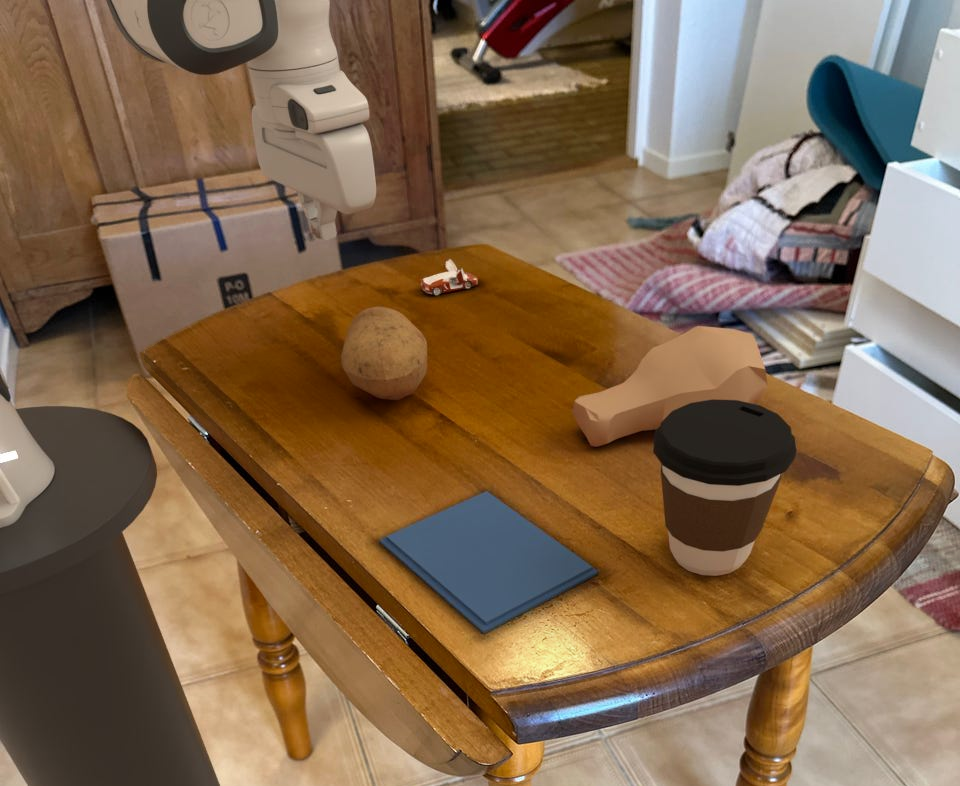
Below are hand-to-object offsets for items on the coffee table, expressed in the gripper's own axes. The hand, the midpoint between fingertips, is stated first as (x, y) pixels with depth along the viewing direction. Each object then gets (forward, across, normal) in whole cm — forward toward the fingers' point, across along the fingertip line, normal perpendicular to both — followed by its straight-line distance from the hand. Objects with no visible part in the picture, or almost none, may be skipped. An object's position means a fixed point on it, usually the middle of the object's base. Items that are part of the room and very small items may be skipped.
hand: (324, 236), depth 102 cm
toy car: (+15, -9, +22) cm, 28 cm away
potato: (+15, +11, 0) cm, 18 cm away
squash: (+15, +37, +18) cm, 43 cm away
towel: (+14, +43, -10) cm, 46 cm away
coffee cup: (+15, +55, +5) cm, 57 cm away
